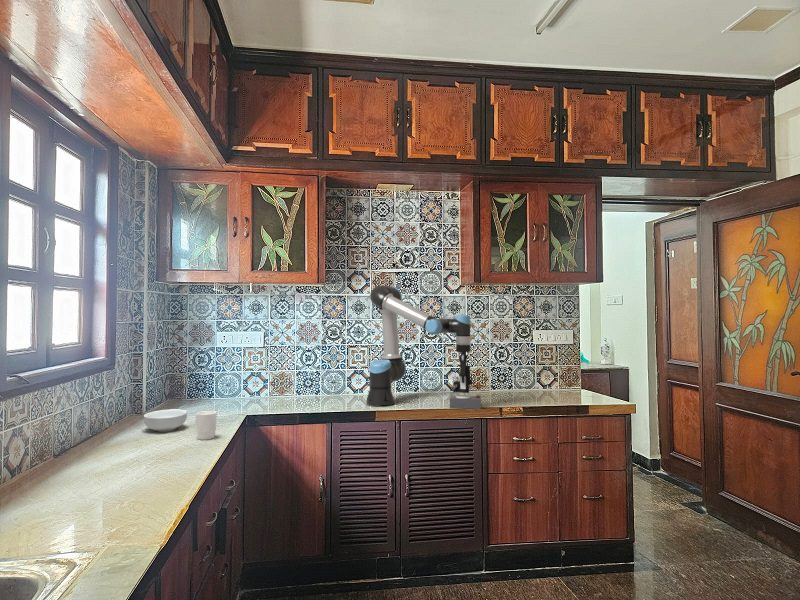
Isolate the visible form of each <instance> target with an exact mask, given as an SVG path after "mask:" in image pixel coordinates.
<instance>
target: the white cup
mask: <svg viewBox="0 0 800 600" xmlns="http://www.w3.org/2000/svg"><path fill="white" fill-rule="evenodd" d="M217 414H218V413H217V411H215V410H204V411H198V412H195V425H196V427H195V428H196V435H197V437H196V438H197V440H201V441H203V440H211V439H214V438H215V437H216V430H217V417H218V415H217Z"/></svg>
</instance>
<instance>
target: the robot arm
mask: <svg viewBox="0 0 800 600" xmlns="http://www.w3.org/2000/svg"><path fill="white" fill-rule="evenodd" d="M402 295H403V294H402V292H401V291H400V289H398V287H395V286H393V285H392V286H391V285H376V286H375V287H373V289H372V290H371V291H370V293H369V298H370V301H371V303H372V304H373V305H374V306H376V307H378V312H380V313H381V320H382V321H381V323H382V337H383V338H382V340H383V342H382V343H383V356H382V357H381V359H378V360H377V359H376V360H373V361H371V362H370V363H369V369H368V370H369V390H368V395H367V396H366V402H365V403H367V404H369V405H368V406H370V405H390V406H393V405H395V397H394V395H393V391H392V383H393V382H397V381H400V380H401V379H402V378H404V376H405V375H406V373H407V366H406V363H405V362H404V361H403V356H402V355H400V345H399V327H398V316H400V317H402V318H404V319H406V320H407V321H409V322H411V323H413V324H415V325H417V326H419V327H421V328H423V329H424V330H426V332H427V333H428V334H431V335H439V334H448V333H450V334H455V343H456V345H455V351H456V352H457V353H460V355H459V364H460V365H459V369H460V370H459V375H458V377H459V380H460V389H466V375H465V366H468V365H467V363H468V355H467V353H470V352H471V346H472V345H470V344H471V340H472V339H473V338H471V324H472V323H471V317H470V315H468V314H467V315H466V314H461V315H460V314H459V315H458V314H457V315H456V316H455V318H436V317H434V316H432V315H430V314H429V313H426V312H424V311H422V310H420V309H418V308H417V307H414V306H413V305H410V304H408V303H407V302H405V301H403V296H402ZM367 404H366V405H367ZM392 404H393V405H392Z"/></svg>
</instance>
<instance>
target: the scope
mask: <svg viewBox="0 0 800 600" xmlns="http://www.w3.org/2000/svg"><path fill="white" fill-rule="evenodd" d="M465 375H466V389H460V376H456V380H455V381H453V382H452V386H451V387H452V390H453V391H452V393H463V394H468V393H470V385H473V380H471V365H467V366H465Z"/></svg>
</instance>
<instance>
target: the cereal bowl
mask: <svg viewBox="0 0 800 600" xmlns="http://www.w3.org/2000/svg"><path fill="white" fill-rule="evenodd" d="M187 414H188V413H187V410H185V409H177V408H176V409H175V408H174V409H170V408H169V409H161V410H155V411H150V412H147V413H145V414H143V421H144V422H143V424H145V426H146V427H147V428H148V429H150V430H154V431H156V432H159V433H161V432H162V433H164V432H172V431H174V430H176V429H177V428H179V427H181V426H183V424H184V423H186V420H187V417H188V415H187Z"/></svg>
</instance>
